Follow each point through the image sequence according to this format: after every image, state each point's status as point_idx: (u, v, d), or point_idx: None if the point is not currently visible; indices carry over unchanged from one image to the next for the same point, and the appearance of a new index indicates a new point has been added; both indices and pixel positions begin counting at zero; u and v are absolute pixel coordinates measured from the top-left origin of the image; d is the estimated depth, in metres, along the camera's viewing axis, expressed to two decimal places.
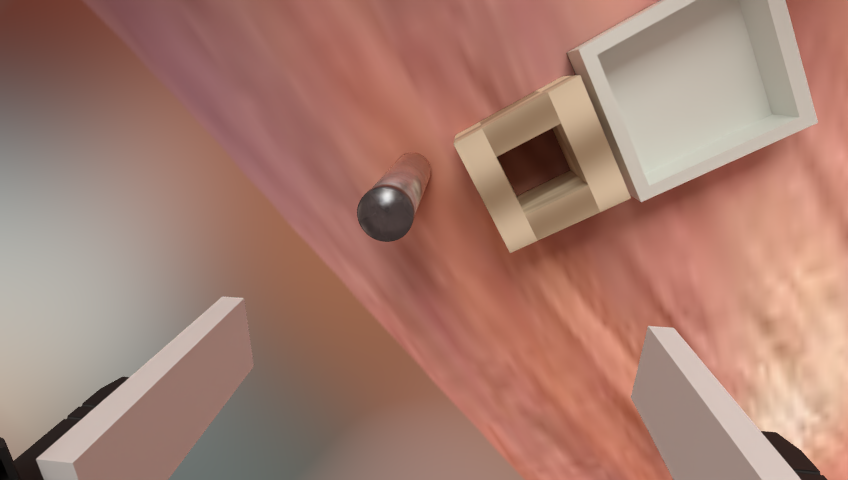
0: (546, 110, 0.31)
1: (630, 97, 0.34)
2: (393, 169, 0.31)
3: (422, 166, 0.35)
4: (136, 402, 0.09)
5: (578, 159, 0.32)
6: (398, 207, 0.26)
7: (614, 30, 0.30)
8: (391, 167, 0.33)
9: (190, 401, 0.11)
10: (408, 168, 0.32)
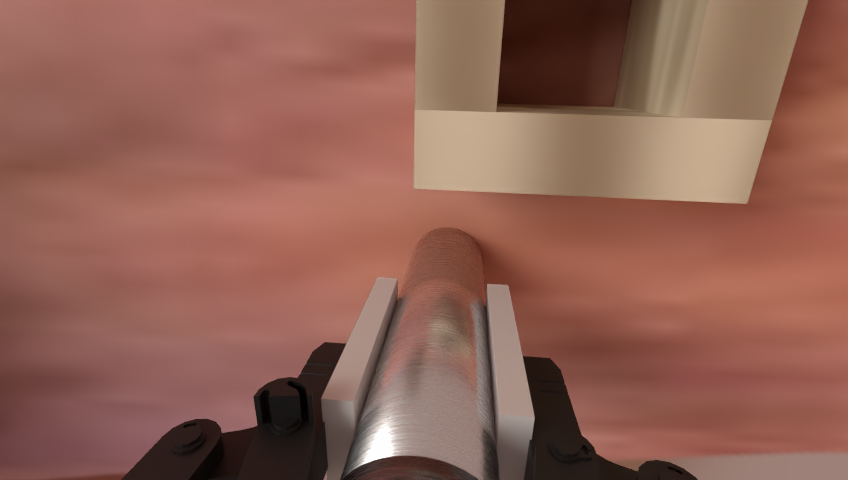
0: None
1: None
2: (384, 342, 0.13)
3: (435, 257, 0.17)
4: (369, 358, 0.11)
5: None
6: None
7: None
8: None
9: None
10: (403, 309, 0.14)
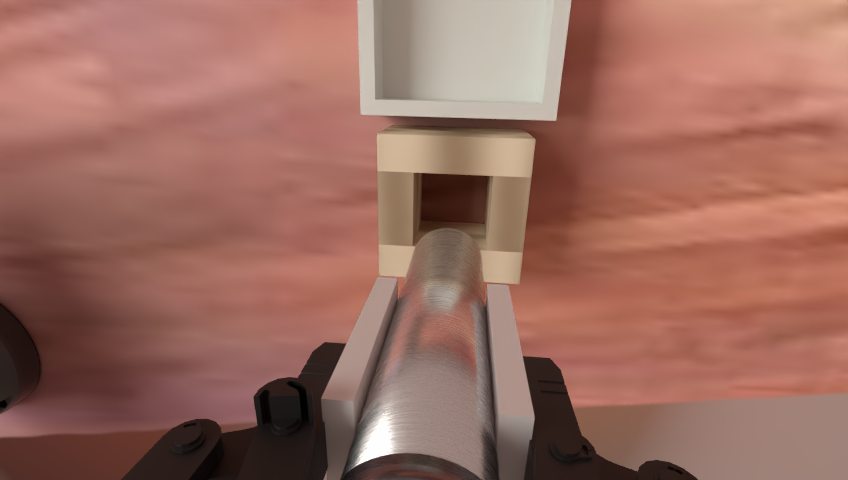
0: (393, 180, 0.28)
1: (445, 71, 0.30)
2: (384, 342, 0.14)
3: (435, 257, 0.17)
4: (369, 358, 0.11)
5: (459, 173, 0.27)
6: None
7: (360, 73, 0.28)
8: None
9: None
10: (404, 308, 0.14)
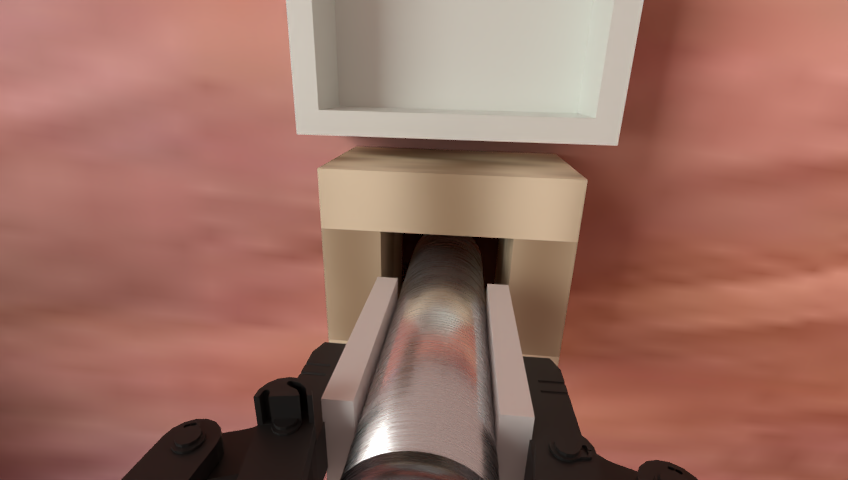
0: (347, 243, 0.17)
1: (435, 65, 0.19)
2: (385, 341, 0.14)
3: (435, 257, 0.17)
4: (368, 358, 0.11)
5: (457, 233, 0.16)
6: None
7: (293, 66, 0.17)
8: None
9: None
10: (404, 308, 0.14)
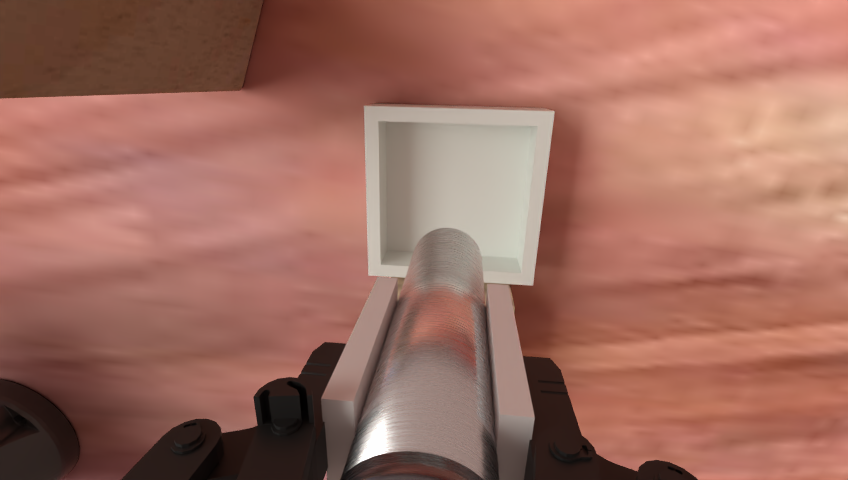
0: None
1: None
2: (385, 341, 0.14)
3: (435, 257, 0.17)
4: (369, 358, 0.11)
5: None
6: None
7: (368, 244, 0.33)
8: None
9: None
10: (404, 308, 0.14)
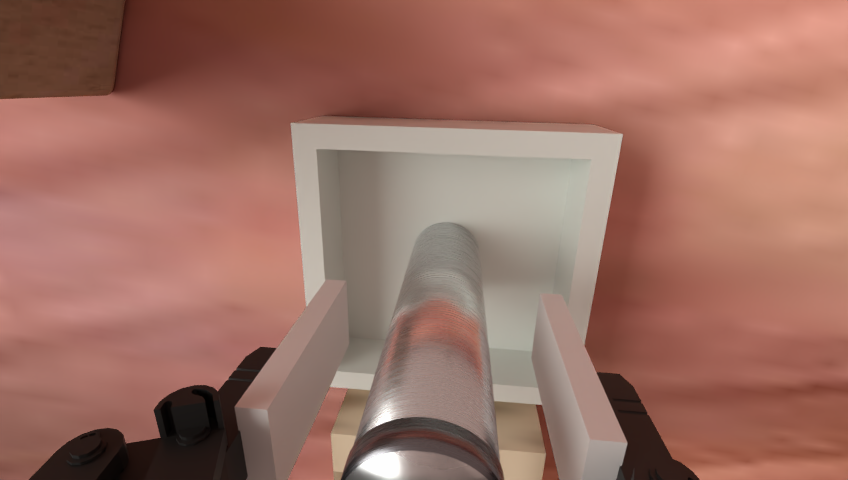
0: None
1: None
2: (389, 327, 0.14)
3: (436, 249, 0.18)
4: (295, 364, 0.11)
5: None
6: (419, 478, 0.08)
7: None
8: None
9: (319, 369, 0.13)
10: (407, 295, 0.15)
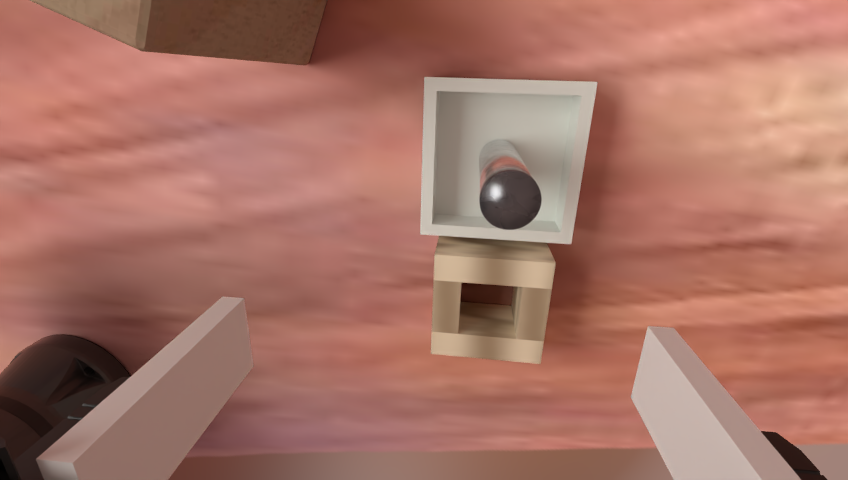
0: (445, 287, 0.37)
1: None
2: (480, 171, 0.30)
3: (498, 145, 0.33)
4: (136, 402, 0.09)
5: (497, 284, 0.36)
6: (511, 184, 0.24)
7: (422, 205, 0.36)
8: (479, 172, 0.32)
9: (190, 401, 0.11)
10: (489, 157, 0.30)
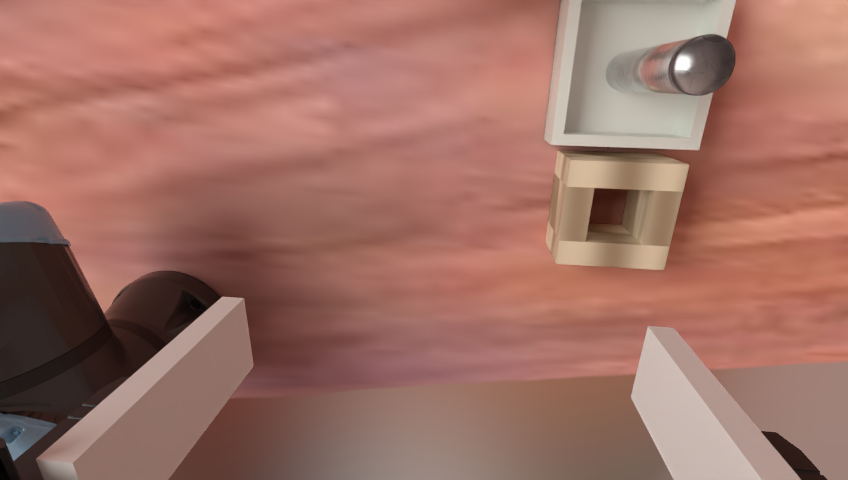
0: (578, 193, 0.38)
1: (608, 112, 0.40)
2: (639, 62, 0.32)
3: None
4: (136, 402, 0.09)
5: (629, 188, 0.38)
6: (707, 47, 0.26)
7: (555, 115, 0.38)
8: (628, 71, 0.34)
9: (190, 401, 0.11)
10: (645, 50, 0.32)
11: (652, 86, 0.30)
